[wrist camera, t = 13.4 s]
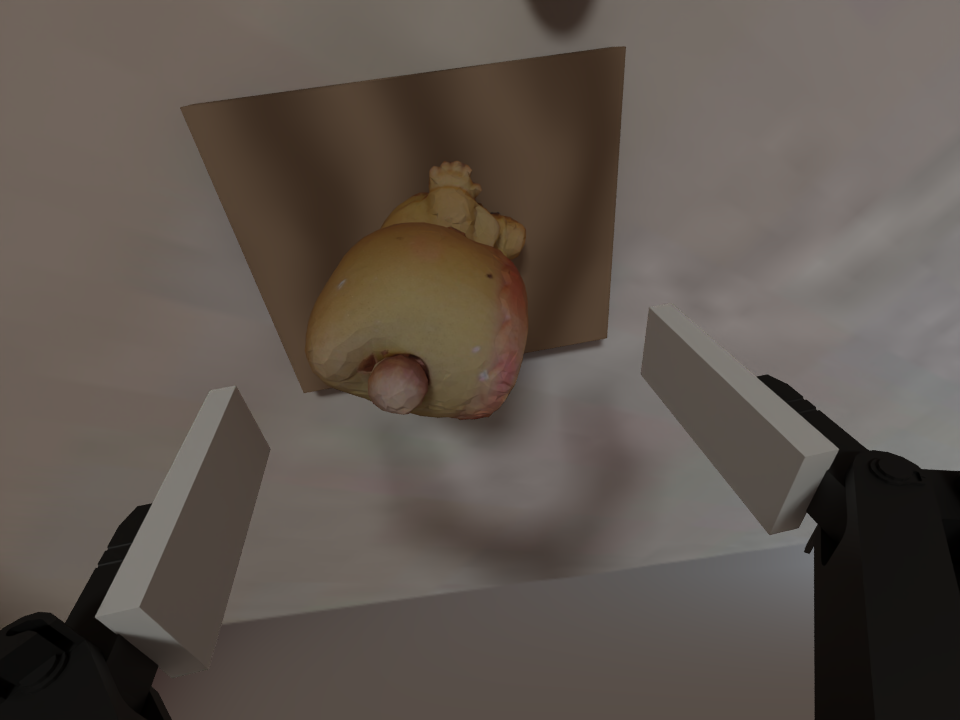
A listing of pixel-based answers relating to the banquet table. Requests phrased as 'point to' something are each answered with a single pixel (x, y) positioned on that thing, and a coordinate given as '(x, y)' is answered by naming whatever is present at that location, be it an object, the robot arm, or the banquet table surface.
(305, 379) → the board
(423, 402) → the figurine
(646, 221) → the banquet table surface
